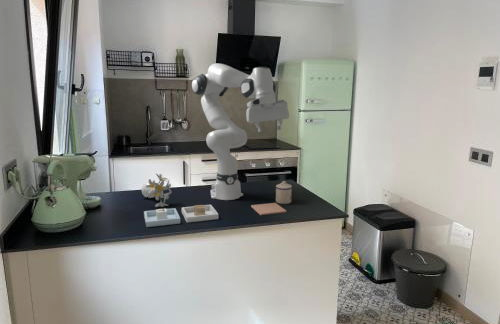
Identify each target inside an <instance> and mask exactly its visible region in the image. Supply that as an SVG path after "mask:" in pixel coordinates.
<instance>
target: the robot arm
mask: <svg viewBox="0 0 500 324" xmlns="http://www.w3.org/2000/svg"><path fill="white" fill-rule="evenodd" d="M229 88H240V92H241V94H242V96H243V98H245V99H252V100H250V101H248V102H247V103H246V106H247V107H246V108H247V109H246V110H245V111H246V113H245V114H246V122H247V123H248V124H253V123H254V126H255V127H256V129H257V132H258V133H262V132H263V128H262V127H261V126H260V123H262V122H263V123H264V122H272V121H273V122H275V121H277V122H278V125H277V126H276V130H277V131H279V130H282V125H283V121H284V120H287V119H289V118H290V113H289V109H288V102H287V101H286V100H285V99H276V95H275V94H276V90H277V85H276V83H275V81H274V80H273V75H272V72H271V69H270V67H267V66H257V67H254V68H252V72H251V73H250V74H247V73H245V72H243V71H241V70H239V69H236V68H234V67H232V66H230V65H227V64H224V63H216V62H215V63H212V64H210V66H209V67H208V69H207V73H206V74H204V73H201V74H198V75H197V76H194V78H193V79H192V81H191V89H192V92H193V94H195V95H198V96H201V98H200V104H201V107H202V111H203V113H204V115H205V118H206V120H207V122H208V124H209V126H210V127H211V128H213V129H214V130H213V131H210V132H208V134H207V135H206V138H205V140H206V145H207V147H208V148H209V149H210V150H211V151H212V152H213V153H214V155H215V157H216V164H217V166H216V167H217V172H216V179H215V181H214V182H213V183H214V184H211V189H210V197H211V199H214V200H215V199H216V200H223V201H232V200H236V199H240V197H243V196H244V193H242V191H241V181H240V180H239V173H238V160H237V158H236V157H235V156H234V155H232V154H231V150H230V149H237V148H240V147H243V146H245V145H246V144H247V141H248V134H247V131H246V130H245V129H242V128H240V127H238V125H236V124H235V123H234V122H233V121H232V120H231V119H230V118H229V116H228V114H227V113H226V111H225V109H224V107H223V105H222V103H221V101H220V97H223V96H224V95H225V93H226V92H227V91H228V89H229Z"/></svg>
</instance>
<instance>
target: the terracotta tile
mask: <svg viewBox="0 0 500 324" xmlns="http://www.w3.org/2000/svg"><path fill="white" fill-rule="evenodd" d="M250 207H251V208H252V209H253V210H254V211H255V212H257V214H259V215H260V216H265V215H268V216H269V215H275V214H284V213H287V210H286V209H285V208H283V207H282V206H281V205H280V204H279V203H277V202H270V203H261V204H260V203H259V204H251V206H250Z"/></svg>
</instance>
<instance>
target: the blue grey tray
mask: <svg viewBox="0 0 500 324" xmlns="http://www.w3.org/2000/svg"><path fill="white" fill-rule="evenodd" d="M165 209H166V210H167V219H162V220H157V219H156V209H154V210H145V211H144V210H143V217H144V222H145V226H146V228H151V227H160V226H168V225H169V226H170V225H176V224H177V225H178V224H179V225H180V224H181V217H180V215H179V213H178V211H177V209H176V207H175V208H173V207H172V208H165Z"/></svg>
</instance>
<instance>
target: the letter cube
mask: <svg viewBox="0 0 500 324" xmlns="http://www.w3.org/2000/svg"><path fill="white" fill-rule="evenodd" d="M166 209H167V208H158V209H155V210H156V219H157V220H162V219H167V210H166Z"/></svg>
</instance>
